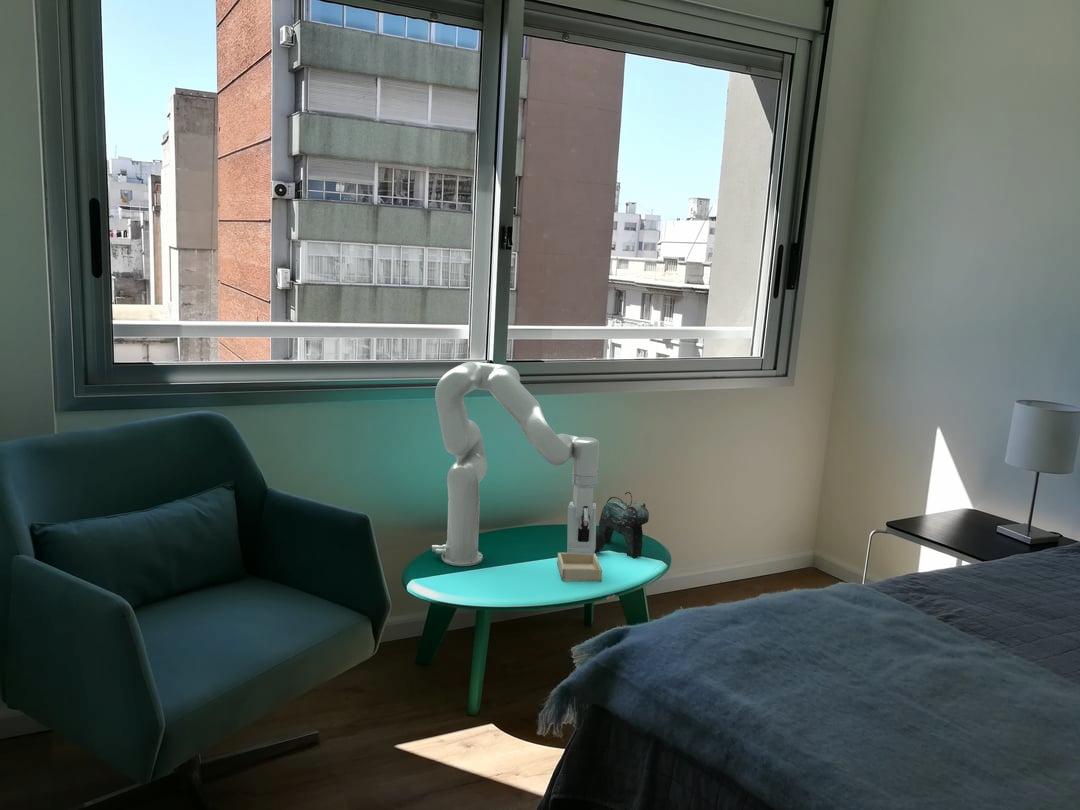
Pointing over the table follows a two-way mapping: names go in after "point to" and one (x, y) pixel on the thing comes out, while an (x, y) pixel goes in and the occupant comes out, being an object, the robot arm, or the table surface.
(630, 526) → the ceramic cat
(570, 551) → the skincare box
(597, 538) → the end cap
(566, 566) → the holder
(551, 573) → the table surface
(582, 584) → the table surface
